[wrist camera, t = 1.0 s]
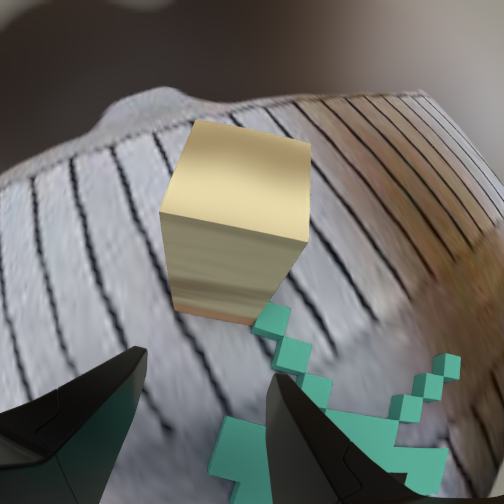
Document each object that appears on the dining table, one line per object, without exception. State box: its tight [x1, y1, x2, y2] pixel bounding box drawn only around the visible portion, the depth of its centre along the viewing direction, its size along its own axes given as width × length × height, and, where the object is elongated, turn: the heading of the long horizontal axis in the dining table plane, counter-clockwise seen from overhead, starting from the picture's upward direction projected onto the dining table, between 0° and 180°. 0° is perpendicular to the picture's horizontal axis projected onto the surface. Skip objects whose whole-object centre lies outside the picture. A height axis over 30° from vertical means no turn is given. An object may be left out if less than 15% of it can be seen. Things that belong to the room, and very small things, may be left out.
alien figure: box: [207, 302, 461, 504], centre depth 19 cm, size 20×2×20 cm
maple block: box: [159, 119, 311, 326], centre depth 19 cm, size 6×6×13 cm
